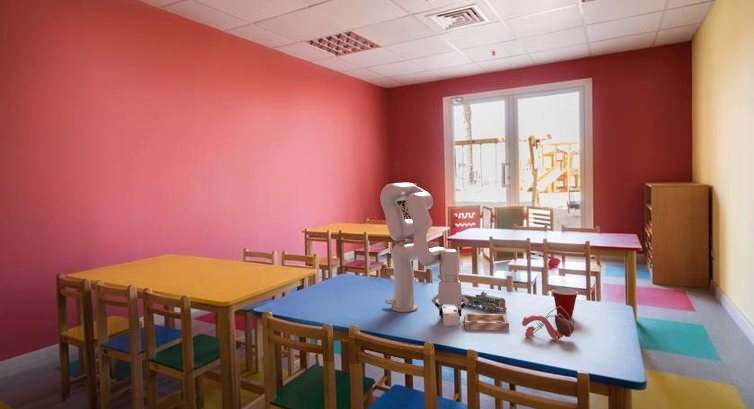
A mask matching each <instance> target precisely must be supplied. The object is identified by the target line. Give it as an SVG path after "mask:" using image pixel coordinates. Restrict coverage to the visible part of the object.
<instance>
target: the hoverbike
mask: <svg viewBox="0 0 754 409" xmlns="http://www.w3.org/2000/svg"><path fill="white" fill-rule="evenodd" d="M487 293H488V292H485V291H483V290H482V291H481V293H480V294H475V296H474V295H471V294H470V295H469V294H462V295H463V296H464V297H466V298H467V299H468V300H469V302H468V303H467V304H466V305H465V306H464V307H473V306H476V307H478V308H479V306H480V307H481V310H482V311H485V310H486V308H487V309H489V310H490V312H491V313H493V312H494V311H496V312H499V313H500V311H501V312H503V313H505V312H506V311H507V309H508V307H507V306H506V299H505V298H504V297H501V296H500V297H498V296H493V295H489V294H487ZM463 302H464V300H463V299H462V303H463Z"/></svg>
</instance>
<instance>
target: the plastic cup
mask: <svg viewBox="0 0 754 409" xmlns="http://www.w3.org/2000/svg"><path fill="white" fill-rule="evenodd" d="M551 292H552V295H553V299H554V305H555V306H554V307H555V308H557V307H559V306H561V307H562V308H563V309H564V310H565V311H566V312H567V313H568V315H569V317H570V319H571V320H572V318H573V314H574V310H575V306H576V300H577V297H578V294H579V291H577V290H574V289H568V288H553V289H551ZM562 308H560V307H559V308H557V309H555V311H556V315H559V313H560V314H561V315H562V316H563V317H564V318H565V319H566V320H570V319H569V317H568V315H567V313H566V312H565V311H564V310H563V309H562ZM561 315H559V316H558V317H560V318H563V317H562V316H561ZM564 318H563V319H564Z"/></svg>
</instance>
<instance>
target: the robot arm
mask: <svg viewBox="0 0 754 409" xmlns="http://www.w3.org/2000/svg"><path fill="white" fill-rule="evenodd" d="M379 198H380V199H379V201H380V204H381V207H382V210H383V213H384V217H385V222H386V225H387V229H388V234H389V235H390V236H389V237H390V238H391V239H392V240H393V241H403V240H405V241H404V242H400V243H399V242H398V243H396V245H394V246H393V247H392V249H391V253H390V254H391V260H392V267H393V290H394V291H393V292H394V297H393V298H391V299H390V298H385V304H387V305H391V306H390V307H391V308H390V309H391V310H392V311H394V312H398V313H411V312H414V311H416V310H418V308H419V306H418V305H417V303H415V272H414V270H415V269H414V267H413V265H412V261H416V260H418V261H419V263H420V264H421V265H422V266H424V267H432V266H435V265H438V264H439V265H440V274H437V279H440V280H439V281H438V285H437V286H438V288H437V294H436V295H435V296H434V297H433V298H432V299H431V302H432V303H433V304H434V306H435V307H436V308H437V309H438V310H439V311H438V314H439V315H438V316H439V317H440V319H441V320H443V319H442V318H443V312H442V306H444V305H446V306H447V305H448V306H450V305H452V306H456V307H457V311H458V313H459V316H460V317H462V309H463V308H465V307H466V306H467V305H466V304H467V303H468V302H469V300H468V299H467V298H466V297H464V296H463V295H464V294H463V292H462V284H461V281H460V280H459V253H458V251H457V250H456V249H455V248H445V247H442V246H434V247H430V248H429V245H428V241H427V235H428V234H427V233H428V232H429V230H430V229H431V227H432V226H433V220H432V217H431V215H430V213H429V210H430V209H431V208H432V207H433V204H434V198H433V197H432V195H431V194H430V193H429V192H428V191H426V190H424V189H422V188H421V187H419V186H417V185H415V184H414V183H411V182H393V183H389V184H387V185H385V186H384V187H383V188H382V189H381V193H380V196H379ZM401 201H405V205H406V209H407V212H408V214H409V217H410V219H409V218H406V219H405V217H404V213H403V210H402V207H401V206H400V205H399V204H398V202H401ZM462 299H463V300H464V302H462ZM437 300H438V301H437ZM465 305H466V306H465Z"/></svg>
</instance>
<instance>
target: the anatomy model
mask: <svg viewBox="0 0 754 409" xmlns="http://www.w3.org/2000/svg"><path fill="white" fill-rule="evenodd" d="M559 307H560V308H562V307H561V306H559ZM559 307H557V308H559ZM557 308H556V307H554V309H552V310H550V311H549V312H548V313H547V315H546V316H543V315H540V314H533V315H532V314H531V315H530V316H528V317H527V316H524V317H523V319H522V321H521V325H522V326H523V327H526V326H528V325H529V324H530V323H532V322H534V321H538V322H536V323H535V324H537V326H536V327H534V326H533V325H531V326H528V327H527V328H526V329H525V333H524V336H525V338H530V337H532V336H534V334H535V333H536V332H537V331H539V330H540V329H542V330H543V327H545V329H546V331H547V333H548V335H549V336H550V337H551V338H552V339H554V340H555V342H556V343H557V344H560V340H559V338H563V337H565V338H570V337H572V335H573V333H574V330H575V326H574V324H573V323H572V318H571V319H570V317H569V315H568V313H567V312H566V311H565V310H564V309H563V308H562V309H563V310H564V311H565V312H566V313H567V315H568V317H569V319H565V318H564V317H563V316H562V315H561V314H560V313H559V315H561V316H562V317H563V318H564V319H563V318H560V317H558V316H559V315H557V313H556V314H554V324H555V327H556V329H555V328H554V326H553V325H552V324H551V322H550V321H549V320H548V318H550V317H553V315H550V314H551V313H552V312H553V311H556V309H557Z"/></svg>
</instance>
